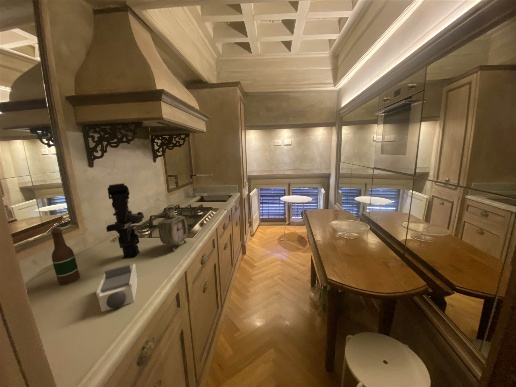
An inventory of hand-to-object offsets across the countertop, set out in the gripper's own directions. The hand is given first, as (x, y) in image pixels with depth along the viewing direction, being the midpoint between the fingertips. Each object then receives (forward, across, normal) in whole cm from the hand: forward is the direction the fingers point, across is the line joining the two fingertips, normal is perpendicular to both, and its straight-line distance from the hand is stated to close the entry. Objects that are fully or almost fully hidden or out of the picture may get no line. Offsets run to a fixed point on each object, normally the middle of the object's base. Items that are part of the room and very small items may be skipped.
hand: (127, 241), depth 102 cm
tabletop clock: (+11, +19, -15) cm, 27 cm away
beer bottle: (+12, -6, +25) cm, 28 cm away
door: (+11, -22, -6) cm, 25 cm away
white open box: (+17, -20, -5) cm, 26 cm away
